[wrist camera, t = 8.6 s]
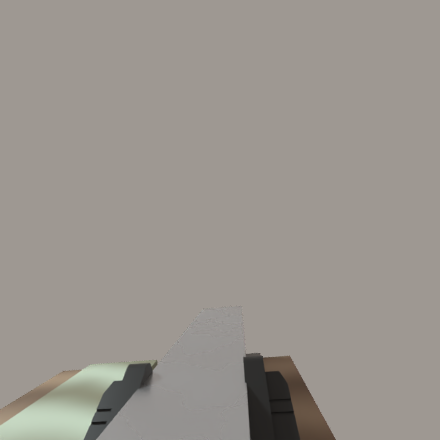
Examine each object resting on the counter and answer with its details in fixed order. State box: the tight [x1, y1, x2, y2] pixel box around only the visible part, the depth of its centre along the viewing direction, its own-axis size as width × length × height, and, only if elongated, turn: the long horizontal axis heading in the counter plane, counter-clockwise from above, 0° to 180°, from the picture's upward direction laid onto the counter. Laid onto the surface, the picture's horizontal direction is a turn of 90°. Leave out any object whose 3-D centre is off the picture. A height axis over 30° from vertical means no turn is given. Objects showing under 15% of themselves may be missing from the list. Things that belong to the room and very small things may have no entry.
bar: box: [96, 306, 251, 440], centre depth 16 cm, size 22×4×4 cm, turn 176°
